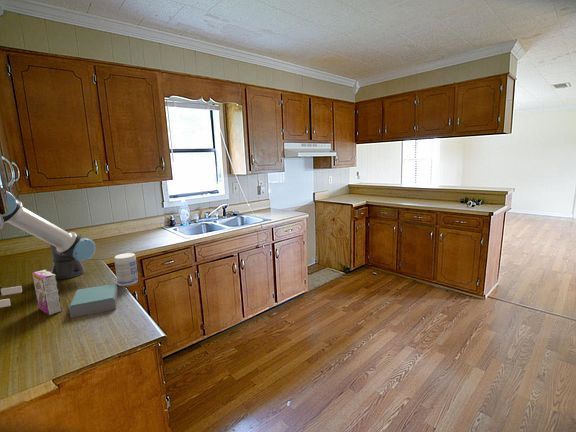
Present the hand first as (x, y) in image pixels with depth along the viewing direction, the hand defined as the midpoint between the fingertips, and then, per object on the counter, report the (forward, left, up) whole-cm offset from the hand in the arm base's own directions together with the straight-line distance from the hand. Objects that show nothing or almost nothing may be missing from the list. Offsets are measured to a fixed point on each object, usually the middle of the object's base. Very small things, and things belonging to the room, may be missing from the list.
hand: (16, 295), depth 124 cm
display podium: (+3, +27, -9) cm, 28 cm away
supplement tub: (-17, +39, -9) cm, 44 cm away
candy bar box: (0, +10, -9) cm, 14 cm away
